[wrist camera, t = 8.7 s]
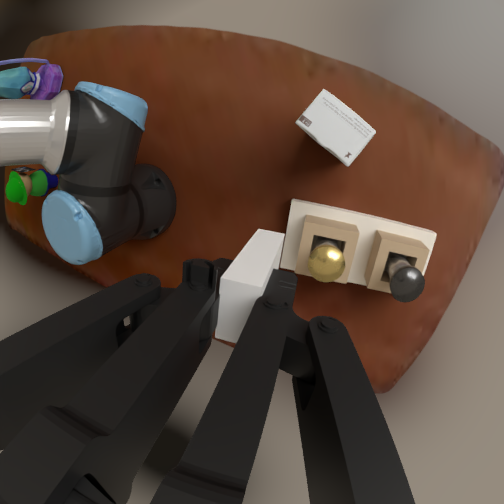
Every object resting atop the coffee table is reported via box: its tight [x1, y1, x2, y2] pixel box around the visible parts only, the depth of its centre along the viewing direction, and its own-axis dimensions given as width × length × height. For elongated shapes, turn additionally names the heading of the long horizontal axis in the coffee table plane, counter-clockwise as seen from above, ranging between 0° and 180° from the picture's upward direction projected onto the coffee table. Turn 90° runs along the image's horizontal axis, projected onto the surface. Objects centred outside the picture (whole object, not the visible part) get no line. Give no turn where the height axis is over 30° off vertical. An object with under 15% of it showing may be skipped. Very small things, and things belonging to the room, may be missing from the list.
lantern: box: [0, 58, 63, 100], centre depth 38 cm, size 13×12×30 cm
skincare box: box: [295, 89, 376, 166], centre depth 36 cm, size 8×6×15 cm
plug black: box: [385, 252, 425, 302], centre depth 40 cm, size 5×5×9 cm
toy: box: [6, 167, 58, 205], centre depth 53 cm, size 9×9×15 cm
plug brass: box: [308, 236, 345, 282], centre depth 43 cm, size 5×5×9 cm
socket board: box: [280, 199, 437, 293], centre depth 45 cm, size 26×12×7 cm, turn 82°
